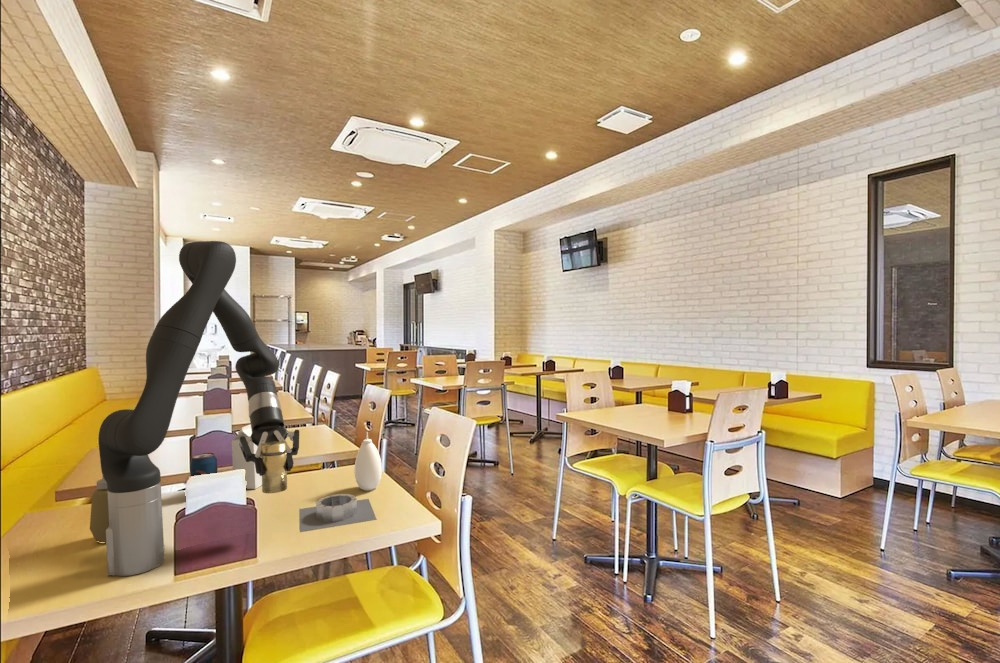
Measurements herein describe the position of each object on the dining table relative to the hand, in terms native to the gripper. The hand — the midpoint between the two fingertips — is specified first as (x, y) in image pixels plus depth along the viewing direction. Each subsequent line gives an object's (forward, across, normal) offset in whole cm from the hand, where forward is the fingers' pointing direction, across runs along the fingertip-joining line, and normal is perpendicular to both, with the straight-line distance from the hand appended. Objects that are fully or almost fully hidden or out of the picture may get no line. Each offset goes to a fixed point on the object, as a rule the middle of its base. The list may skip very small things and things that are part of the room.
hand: (275, 471), depth 122 cm
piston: (+2, 0, +5) cm, 5 cm away
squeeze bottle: (-5, -33, +28) cm, 43 cm away
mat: (+8, +15, +14) cm, 22 cm away
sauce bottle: (-2, +29, +24) cm, 37 cm away
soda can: (-20, -12, +43) cm, 49 cm away
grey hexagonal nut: (+8, +15, +13) cm, 21 cm away
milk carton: (-21, +1, +43) cm, 48 cm away
